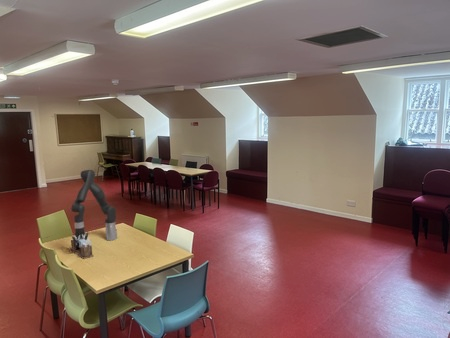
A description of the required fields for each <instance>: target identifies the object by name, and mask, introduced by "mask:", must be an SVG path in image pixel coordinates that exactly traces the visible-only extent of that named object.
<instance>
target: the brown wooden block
mask: <svg viewBox="0 0 450 338" xmlns="http://www.w3.org/2000/svg"><path fill="white" fill-rule="evenodd" d="M70 244H71V249H70V251H71V252H73V253H74V254H75V255H77V256H78V257H80V258H82V259H83V260H86V259H87V260H88V259H89V258H93V257H94V254H93V245H92V246H90V245H89V244H88V245H87V247H83V246H81V248H80V247H78V246H77V245H76V243H75V242H74V241H73V239H72V240H70Z"/></svg>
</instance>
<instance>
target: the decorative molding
mask: <svg viewBox="0 0 450 338" xmlns="http://www.w3.org/2000/svg"><path fill="white" fill-rule="evenodd" d="M75 238H77V237H76V236H75ZM84 239H85V235H84ZM86 244H87V245H88V244H89V245H90V246H92V247H93V244H92V242H91V239H90V238H89V236H88V237H87V240H86Z"/></svg>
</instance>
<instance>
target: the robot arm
mask: <svg viewBox="0 0 450 338" xmlns="http://www.w3.org/2000/svg"><path fill="white" fill-rule="evenodd" d="M95 177H96V173H95V171H94V170H93V169H87V170H86V169H85V170H82V171H81V172H80V178H81V180H82V181H83V182H84V184H83V185H82V187H81V188H80V189H79V190H78V193H77V197H76V199H74V201H73V203H72V205H71V208H70V209H71V212H73V213H78V214H75V215H74V217H73V218H74V235H72V236H71V239H72V240H73V241H74V242H75V243H77V246H78V247H79V239H80V238H82V239H84V235H85V239H84V240H87V237H88V238H89V233H88V232H86V230H85V222H84V213H85V210H86V208H85V204H82V203H85V201H86V198H87V195H88V192H89V191H90V192H91V193H92V195H93V197H94V198H95V200H96V201H97V203H98V205H99V206H100V209H101V211H102V213H103V215H105V216H107V218H105V220H104V221H105V223H104V224H105V236H106V241H109V242H110V241H111V242H112V241H116V239H118V232H117V230H118V229H117V227H116V219H117V217H116V216H117V211H116V210H117V209H116V206H115V207H114V206H112V205H109V203H108V202H107V201H106V194H105V192H104V190H103V189H102V188H101V186H100V185H98V184H97V183H95V182H94V180H95ZM75 236H76V237H77V238H76V240H75Z"/></svg>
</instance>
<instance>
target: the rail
mask: <svg viewBox="0 0 450 338" xmlns="http://www.w3.org/2000/svg"><path fill="white" fill-rule="evenodd" d="M75 240H76V238H75ZM76 245H77V243H76ZM81 246H83V247H87V244H86V240H84V239H82V238H80V239H79V247H80V248H81Z"/></svg>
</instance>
